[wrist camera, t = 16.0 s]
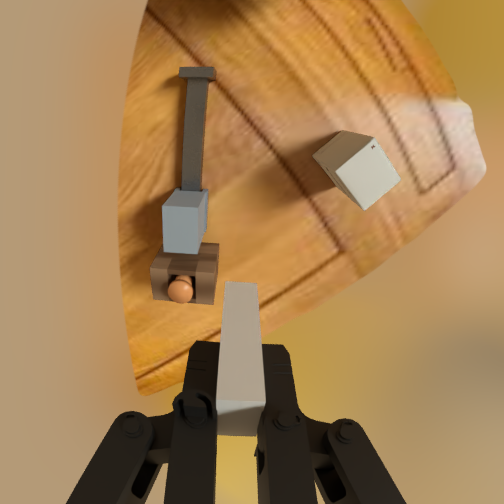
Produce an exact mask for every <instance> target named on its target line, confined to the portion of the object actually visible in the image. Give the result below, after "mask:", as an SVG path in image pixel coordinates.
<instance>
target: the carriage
mask: <svg viewBox="0 0 504 504" xmlns="http://www.w3.org/2000/svg"><path fill="white" fill-rule="evenodd" d="M207 207H208V189H203V191H202V192H199V191H181V188H176V189H175V190H174V192H173V194H172V195H171V196H170V197H169V198H168V199H167V201H166V202H165V203H164V204H163V205H162V222H163V247H164V252H172V253H185V254H198V251H199V247H200V244H201V241H202V238H203V235H204V232H206V229H207Z"/></svg>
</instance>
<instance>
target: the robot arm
mask: <svg viewBox="0 0 504 504" xmlns="http://www.w3.org/2000/svg"><path fill="white" fill-rule="evenodd" d="M172 405H173V409H174V411H172V412H171V413H168V414H165V415H161V416H153V417H146V416H145V415H143V414H142V413H140V412H135V411H129V412H124V413H122V414H120V415H119V416H118V417H117V418H116V419H115V421H114V422H113V424H112V425H111V427H110V429H109V431H108V432H107V434H106V436H105V437H104V439H103V440H102V442H101V444H100V445H99V447H98V449H97V451H96V452H95V454H94V456H93V457H92V459H91V461H90V462H89V464H88V466H87V468H86V469H85V471H84V473H83V475H82V476H81V478H80V480H79V481H78V484H77V485H76V487H75V488H74V490H73V492H72V494H71V496H70V497H69V499H68V501H67V503H66V504H145V502H146V500H147V497H148V495H149V493H150V491H151V489H152V487H153V484H154V482H155V480H156V478H157V475H158V473H159V471H160V469H161V467H162V464H164V463H168V472H167V479H166V488H165V497H164V504H215V483H216V454H217V435H228V436H256V435H257V439H258V444H257V447H256V450H255V454H254V456H256V457H257V458H256V459H257V482H258V504H318V502H317V496H316V488H315V482H316V484H317V487H318V489H319V491H320V493H321V495H322V497H323V500H324V502H325V504H406V502H405V500H404V499H403V497H402V495H401V494H400V492H399V490H398V488H397V487H396V485H395V484H394V481H393V480H392V478H391V476H390V474H389V473H388V471H387V469H386V468H385V466H384V464H383V462H382V461H381V459H380V457H379V456H378V454H377V452H376V450H375V449H374V447H373V445H372V444H371V442H370V440H369V439H368V437H367V435H366V433H365V432H364V430H363V428H362V427H361V426H360V425H359V424H358V423H357V422H355V421H354V420H351V419H346V418H345V419H338V420H336V421H335V422H333V423H332V424H330V423H325V422H320V421H316V420H313V419H310V418H308V417H307V416H305V415H304V414H303V413H302V412H301V410H300V409H299V407H298V404H297V397H296V391H295V384H294V379H293V374H292V367H291V360H290V355H289V353H288V351H287V350H286V348H285V347H284V346H283V345H278V344H276V345H274V344H262V343H261V330H260V317H259V304H258V291H257V283H245V282H231V281H226V282H225V293H224V304H223V315H222V327H221V340H220V342H208V341H197V340H196V342H195V343H194V344H193V346H192V347H191V348H190V350H189V356H188V361H187V367H186V373H185V378H184V384H183V390H182V392H181V393H179V394H178V395H177V396H176V397H175V399H174V401H173V403H172ZM314 480H315V481H314Z"/></svg>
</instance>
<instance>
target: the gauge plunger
mask: <svg viewBox="0 0 504 504" xmlns="http://www.w3.org/2000/svg"><path fill="white" fill-rule="evenodd" d="M193 278H194V276H187V275H177V276H176V278H175V280H174V281H172V282H171V283H170V285H169V288H168V295H169V297H170V298H171V299H172V300H173V301H174V302H177V303H187V302H189V301H190V300H191V298H192V295H193V288H192V282H193Z"/></svg>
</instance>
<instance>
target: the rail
mask: <svg viewBox="0 0 504 504" xmlns="http://www.w3.org/2000/svg"><path fill="white" fill-rule="evenodd" d="M179 77H180V78H181V79H183V80H188V84H187V95H186V107H185V120H184V136H183V157H182V191H199V192H201V188H202V167H203V150H204V135H205V121H206V109H207V98H208V87H209V80H214V81H216V70H215V68H214V67H180V69H179Z"/></svg>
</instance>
